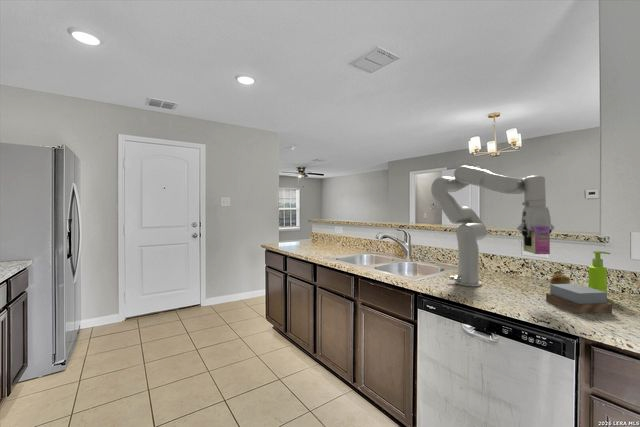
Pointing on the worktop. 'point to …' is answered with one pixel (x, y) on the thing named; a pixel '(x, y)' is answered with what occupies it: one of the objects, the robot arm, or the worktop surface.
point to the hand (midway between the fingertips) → (536, 245)
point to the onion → (559, 278)
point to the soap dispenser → (598, 273)
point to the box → (539, 240)
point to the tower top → (578, 293)
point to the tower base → (579, 305)
